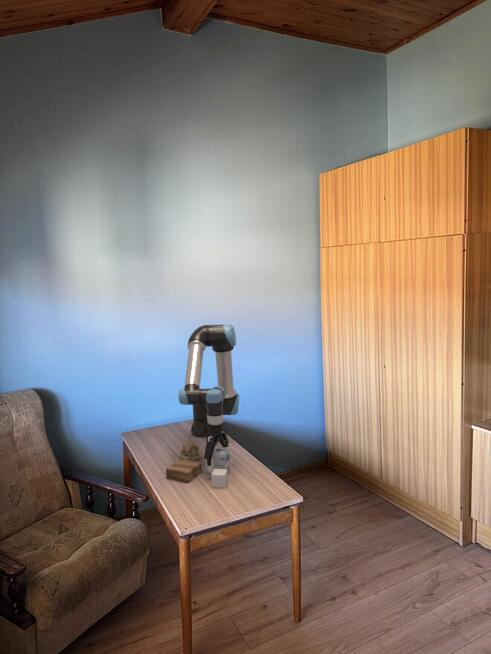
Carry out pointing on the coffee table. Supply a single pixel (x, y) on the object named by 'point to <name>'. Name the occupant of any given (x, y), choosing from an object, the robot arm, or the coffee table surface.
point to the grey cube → (219, 478)
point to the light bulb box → (219, 459)
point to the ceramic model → (190, 450)
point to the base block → (184, 470)
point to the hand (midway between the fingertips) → (217, 465)
